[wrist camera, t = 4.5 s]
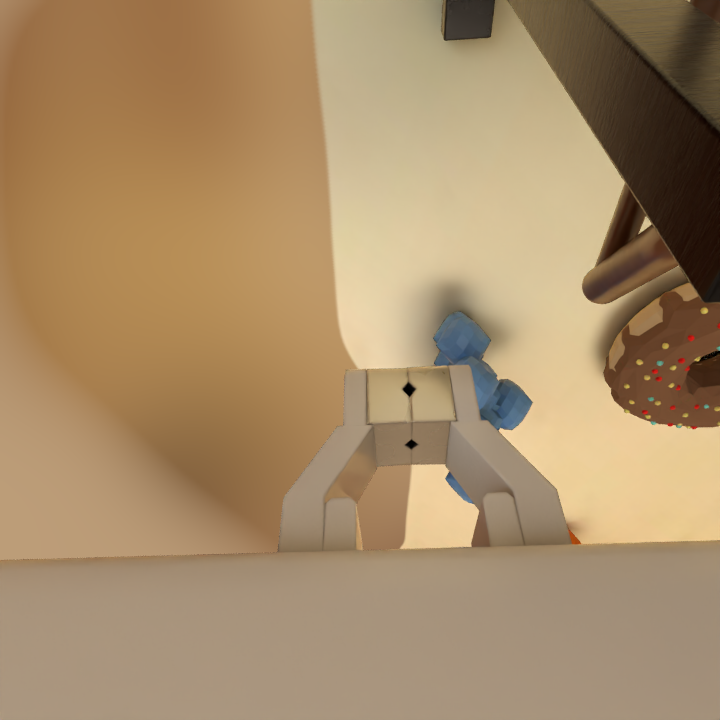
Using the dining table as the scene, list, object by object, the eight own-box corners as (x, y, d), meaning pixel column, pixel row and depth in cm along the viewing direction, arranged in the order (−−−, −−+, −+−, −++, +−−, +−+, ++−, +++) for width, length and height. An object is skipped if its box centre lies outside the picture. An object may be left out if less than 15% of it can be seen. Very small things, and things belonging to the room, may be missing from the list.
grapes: (507, 386, 42) (541, 529, 34) (424, 392, 42) (438, 534, 34) (523, 275, 33) (575, 433, 25) (418, 285, 34) (436, 442, 26)
